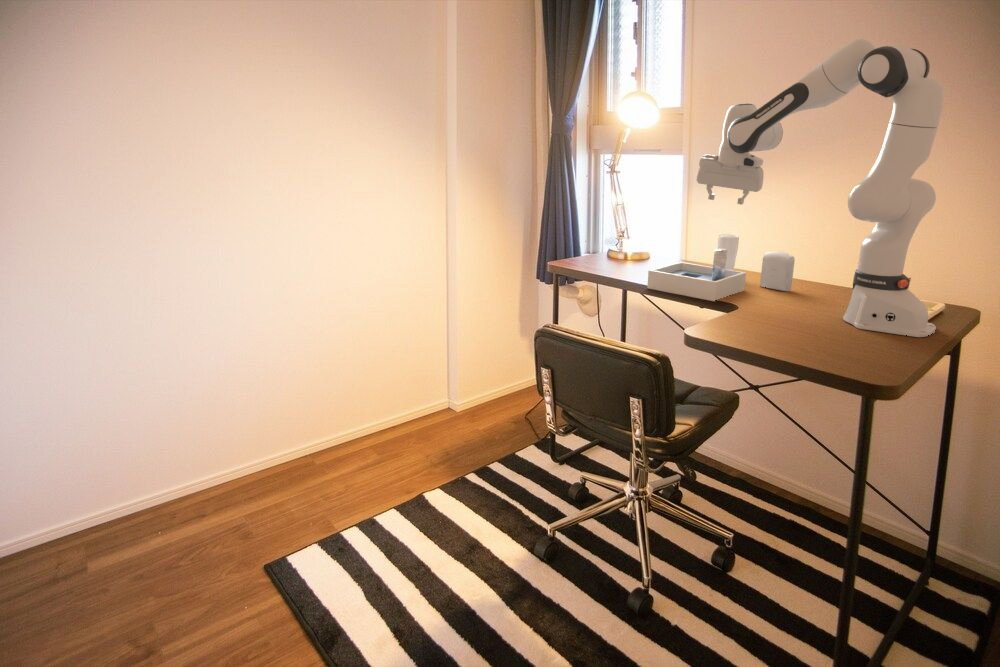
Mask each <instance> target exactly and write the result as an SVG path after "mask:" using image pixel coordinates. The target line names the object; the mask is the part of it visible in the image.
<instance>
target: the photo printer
mask: <svg viewBox="0 0 1000 667" xmlns="http://www.w3.org/2000/svg"><path fill="white" fill-rule="evenodd" d="M795 261H796V260H795V256H793V255H792V254H790V253H788V252H785V251H779V250H774V251H773V250H772V251H766V252H765V253H764V254H763V256H762V264H761V274H760V283H759V287H761V288H765V287H766V288H767V289H770V290H771V289H772V290H777V291H782V292H790V291H791V290H792V285H793V277H794V268H795Z"/></svg>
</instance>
